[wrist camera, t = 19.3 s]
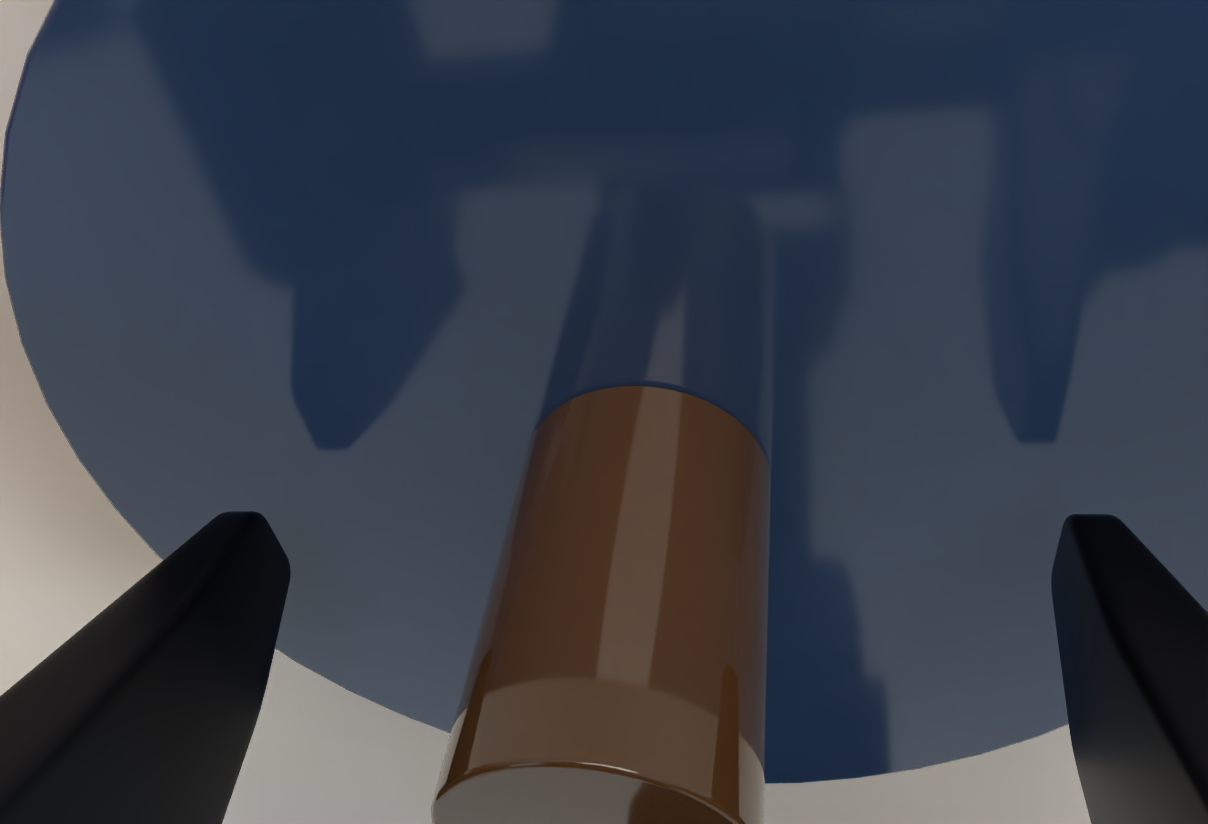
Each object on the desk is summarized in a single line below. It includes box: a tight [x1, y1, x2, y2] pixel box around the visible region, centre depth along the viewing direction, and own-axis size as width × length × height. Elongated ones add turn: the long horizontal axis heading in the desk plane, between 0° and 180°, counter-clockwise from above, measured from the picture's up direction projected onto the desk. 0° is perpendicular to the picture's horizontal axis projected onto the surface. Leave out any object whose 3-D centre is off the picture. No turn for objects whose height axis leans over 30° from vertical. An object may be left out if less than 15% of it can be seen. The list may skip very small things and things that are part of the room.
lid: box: [0, 0, 1208, 824], centre depth 9 cm, size 14×14×5 cm
